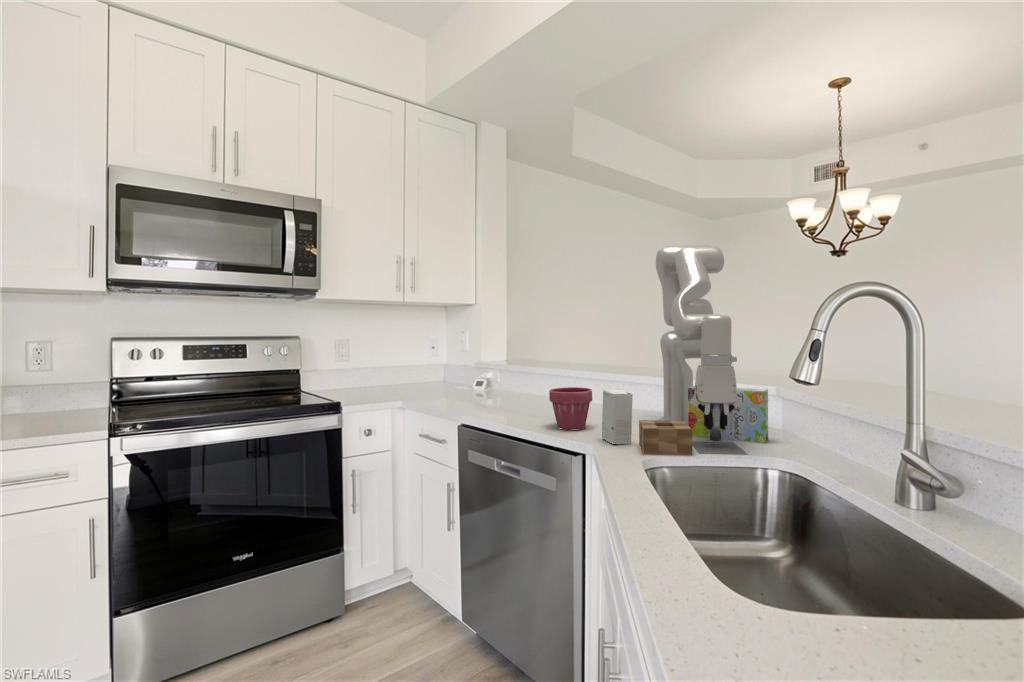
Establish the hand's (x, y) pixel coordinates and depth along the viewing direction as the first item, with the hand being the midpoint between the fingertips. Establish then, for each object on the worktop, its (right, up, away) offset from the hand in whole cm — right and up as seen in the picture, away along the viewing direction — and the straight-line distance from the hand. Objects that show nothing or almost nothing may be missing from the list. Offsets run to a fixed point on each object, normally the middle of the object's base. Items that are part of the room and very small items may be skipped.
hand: (715, 428), depth 133 cm
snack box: (+8, -5, +11) cm, 15 cm away
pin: (0, -3, 0) cm, 3 cm away
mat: (0, -6, -1) cm, 6 cm away
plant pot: (-35, -6, +30) cm, 47 cm away
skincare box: (-25, -6, +9) cm, 27 cm away
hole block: (-14, -6, -1) cm, 15 cm away
